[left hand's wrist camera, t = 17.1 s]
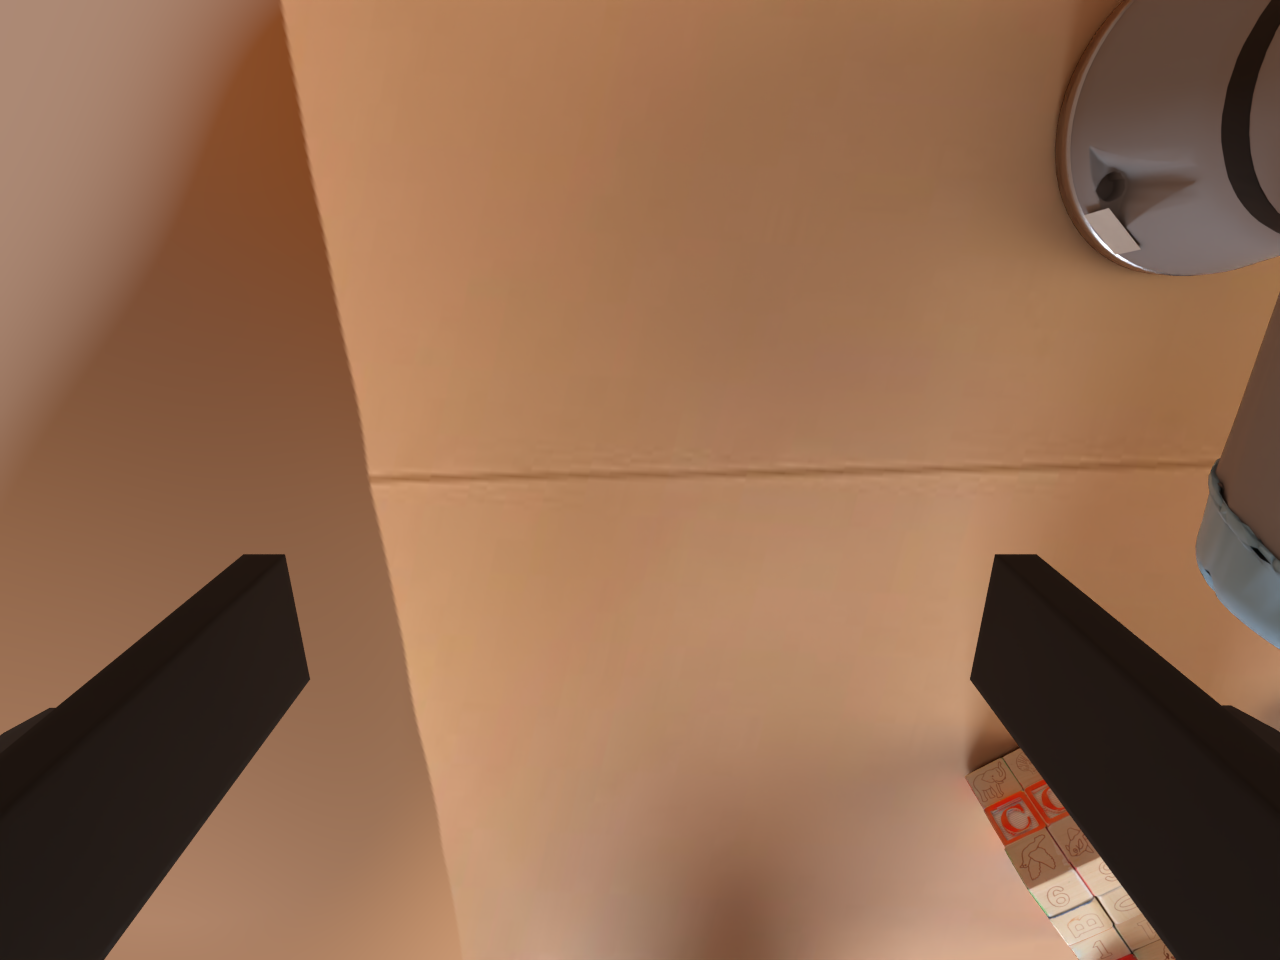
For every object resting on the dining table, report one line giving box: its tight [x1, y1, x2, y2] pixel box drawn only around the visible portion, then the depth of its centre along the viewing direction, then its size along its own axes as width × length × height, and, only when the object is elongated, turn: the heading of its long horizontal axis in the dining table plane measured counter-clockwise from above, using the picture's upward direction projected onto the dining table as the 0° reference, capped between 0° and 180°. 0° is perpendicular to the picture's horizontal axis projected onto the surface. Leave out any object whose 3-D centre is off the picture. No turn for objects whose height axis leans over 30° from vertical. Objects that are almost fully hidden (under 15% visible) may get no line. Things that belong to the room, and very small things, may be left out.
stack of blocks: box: [965, 748, 1176, 960], centre depth 47 cm, size 21×6×12 cm, turn 36°
